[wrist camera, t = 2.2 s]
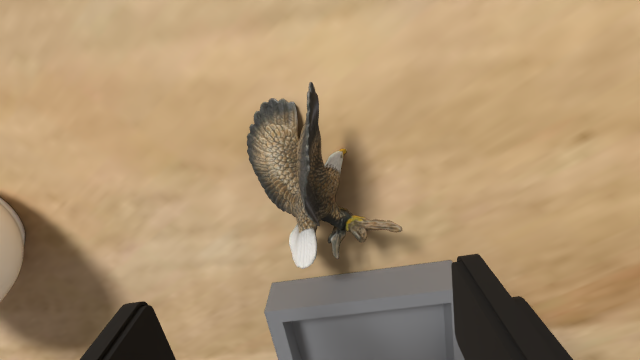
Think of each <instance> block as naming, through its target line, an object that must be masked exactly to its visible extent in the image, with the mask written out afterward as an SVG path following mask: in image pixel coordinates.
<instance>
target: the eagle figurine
mask: <svg viewBox="0 0 640 360" xmlns="http://www.w3.org/2000/svg"><path fill="white" fill-rule="evenodd" d="M318 118H319V101H318V95H317V94H316V92H315V88H314V86H313V83H312V82H310V83H309V91H308V93H307V114H306V122H305V124H304V126H303V129H302V131H301V136H300V139H299V137H298V120H297V110H296V105H295V103H294V102H290V103H288V102H287V101H286V100H285V99H281V100H280V101H277V100H276V99H274V98H271V99H269V102H263V103H262V104H261V107H260V111H256V112H255V114H254V122H255V124H254V125H253V124H251V125H250V133H249V134H248V136H247V139H248V140H247V146H248V150H247V152H248V155H249V161H250V163H251V164H252V167H253V169H254V172H255V174H256V175H257V176H258V180H259V181H260V183H261V185H262V187H263V188H264V189H265V193H266V194H267V196H268V197H269V198H270V199H271V201H272V202H273V203H274V204H276V206H277V207H278V208H279V209H281V210H282V211H286V212H287V213H289V214H291V213H292V215H293V216H294V217H296V218H297V225H296V227H295V228H294V230H293V231H292V233H291V234H290V238H289V245H290V248H291V251H292V256H293V260H294V261H295V264H296V266H297V267H300V268H302V269H304V268H306V267H309V266H310V265H311V264H313V262H314V260H315V258H316V255H317V239H316V234H315V233H316V230H317V226H320V224H319V221H320V220H323V221H325V222H328V223H330V224H331V225H333V226H334V229H333V231H332V233H331V235H330V236H329V238H328V243H331V242H332V247H333V255H334V257H335V258H336V259H338V258H339V246H340V243H341V241H342V239H343V238H344V236H345V235H346V231H351V232H352V234H353V235H354V236H355V238H356V239H357V240H358V241H359V242H360V243H361V242H364V241H365V240H366V238H367V232H366V231H369V230H389V231H391V232H401V231H402V227H401V226H399V225H398V224H396V223H394V222H392V221H384V220H369V219H367V218H365V217H360V216H353V215H352V213H350V212H349V211H348V210H347V209H344V208H341V207H338V206H337V204H336V202H335V193H336V191H337V189H338V186H339V181H340V173H341V166H342V162H343V155H344V154H345V153H346V152H347V151H346V149H340V150H339V151H337V152H335V153H333V154H331V155H330V156H329V158H328V160H327V162H326V164H325V165H324V164H323V160H322V155H321V136H320V131H319V126H318Z"/></svg>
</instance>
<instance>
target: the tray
mask: <svg viewBox="0 0 640 360" xmlns="http://www.w3.org/2000/svg"><path fill="white" fill-rule="evenodd" d="M452 263H453V262H452V261H451V260H448V261H440V262H432V263H424V264H417V265H409V266H401V267H393V268H385V269H378V270H370V271H362V272H354V273H346V274H339V275H331V276H323V277H315V278H307V279H300V280H292V281H284V282H276V283H272V285H271V289H270V293H269V296H268V300H267V304H266V308H265V312H264V313H265V316H266V319H267V323H268V326H269V330H270V333H271V336H272V340H273V343H274V346H275V350H276V353H277V357H278V360H465V359H464V357H463V355H462V353H461V350H460V348H459V346H458V343H457V340H456V336H455V328H454V308H453V289H452V269H451V264H452Z"/></svg>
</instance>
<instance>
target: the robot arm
mask: <svg viewBox="0 0 640 360" xmlns="http://www.w3.org/2000/svg"><path fill="white" fill-rule="evenodd" d="M451 269H452V289H453V308H454V328H455V336H456V340H457V343H458V346H459V348H460V350H461V353H462V355H463V357H464V359H465V360H573V359H572V358H571V357H570V355H569V354H568V353H567V352H566V350H565V349H564V348H563V347H562V345H561V344H560V343H559V342H558V340H557V339H556V338H555V337H554V335H553V334H552V333H551V332H550V330H549V329H548V328H547V327H546V325H545V324H544V323H543V322H542V320H541V319H540V318H539V317H538V315H537V314H536V313H535V312H534V310H533V309H532V308H531V307H530V305H529V304H528V303H527V302H526V301H525V300H524V299H523V298H522V297H520V296H518V297H511V296H510V295H509V293H508V292H507V291H506V289H505V288H504V287H503V285H502V284H501V283H500V281H499V280H498V279H497V277H496V276H495V275H494V273H493V272H492V271H491V269H490V268H489V267H488V266H487V264H486V263H485V262H484V260H483V259H482V258H481V256H480V255H479V254H473V255H466V256H459V257H458V258H457V262H453V263H452V264H451ZM80 360H176V359H175V357H174V354H173V352H172V350H171V348H170V345H169V343H168V341H167V339H166V336H165V334H164V332H163V330H162V327H161V325H160V323H159V321H158V318H157V316H156V314H155V312H154V309H153V308H152V306H149V305H148V304H147V303H146V302H135V303H128V304H125V305H123V306H122V307H121V308H120V309H119V311H118V312H117V313H116V314H115V316H114V317H113V318H112V319H111V321H110V322H109V323H108V324H107V326H106V327H105V328H104V330H103V331H102V332H101V333H100V335H99V336H98V337H97V338H96V340H95V341H94V342H93V343H92V345H91V346H90V347H89V349H88V350H87V351H86V352H85V354H84V355H83V356H82V357H81V359H80Z"/></svg>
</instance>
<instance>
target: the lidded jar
mask: <svg viewBox="0 0 640 360" xmlns="http://www.w3.org/2000/svg"><path fill="white" fill-rule="evenodd" d="M24 244H25V230H24V226H23V224H22V221H21V220H20V218H19V216H18V215H17V213H16V212H15V211H14V209H13V208H12V207H11V206H10V205H9V204H8V203H7V202H5V201H4V200H3V199H2V198H0V302H1V301H2V299H3V298H4V297H5V296H6V295H7V294H8V292H9V290H10V289H11V287H12V286H13V284H14V282H15V281H16V279H17V277H18V275H19V272H20V269H21V266H22V263H23V254H24V248H23V247H24Z"/></svg>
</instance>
